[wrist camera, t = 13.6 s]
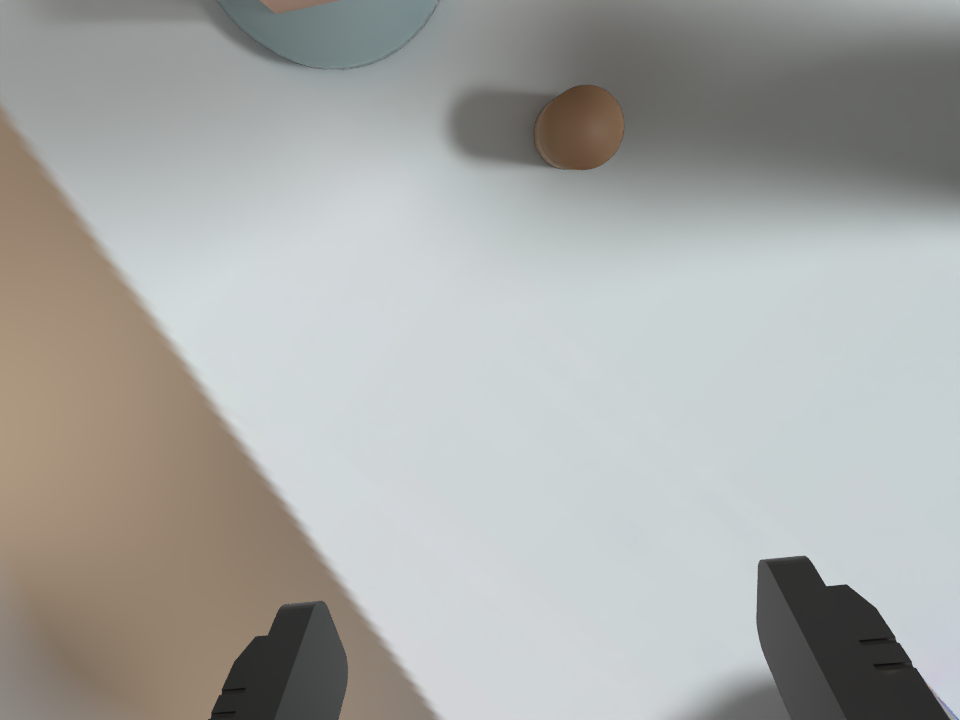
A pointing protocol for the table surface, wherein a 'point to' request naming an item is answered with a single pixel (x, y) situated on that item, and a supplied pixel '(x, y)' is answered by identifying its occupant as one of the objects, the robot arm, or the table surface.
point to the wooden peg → (579, 128)
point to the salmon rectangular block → (292, 4)
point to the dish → (333, 29)
